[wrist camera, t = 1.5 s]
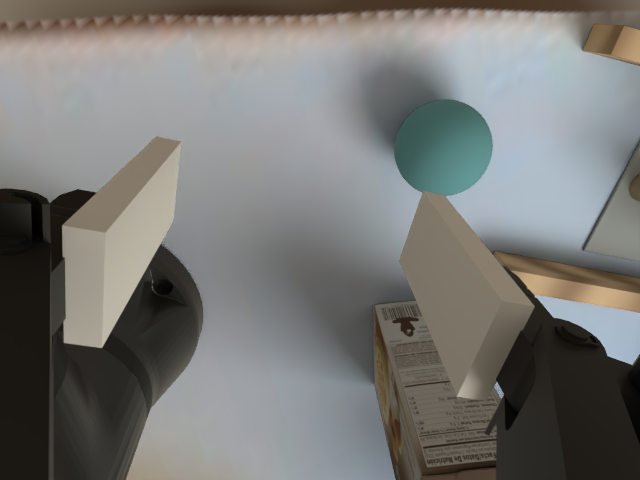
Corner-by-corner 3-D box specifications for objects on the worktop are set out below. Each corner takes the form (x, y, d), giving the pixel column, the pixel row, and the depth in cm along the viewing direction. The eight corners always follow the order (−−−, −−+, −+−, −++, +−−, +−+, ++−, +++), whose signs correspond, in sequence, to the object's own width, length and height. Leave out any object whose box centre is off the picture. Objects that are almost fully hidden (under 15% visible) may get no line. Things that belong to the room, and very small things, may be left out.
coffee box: (443, 378, 42) (520, 569, 28) (373, 385, 42) (414, 580, 28) (447, 294, 38) (540, 466, 24) (369, 301, 38) (416, 478, 24)
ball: (376, 169, 33) (392, 200, 28) (401, 83, 31) (424, 99, 25) (455, 185, 34) (485, 219, 29) (485, 103, 31) (525, 122, 26)
